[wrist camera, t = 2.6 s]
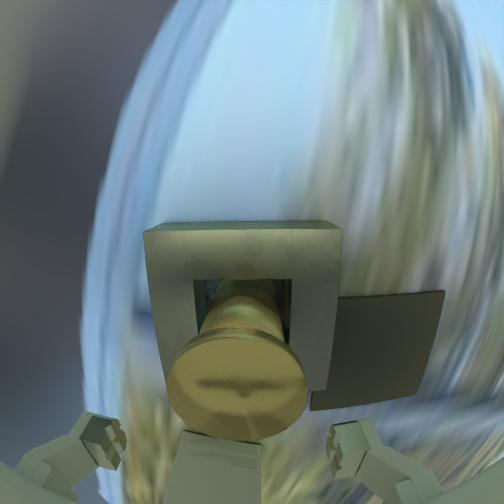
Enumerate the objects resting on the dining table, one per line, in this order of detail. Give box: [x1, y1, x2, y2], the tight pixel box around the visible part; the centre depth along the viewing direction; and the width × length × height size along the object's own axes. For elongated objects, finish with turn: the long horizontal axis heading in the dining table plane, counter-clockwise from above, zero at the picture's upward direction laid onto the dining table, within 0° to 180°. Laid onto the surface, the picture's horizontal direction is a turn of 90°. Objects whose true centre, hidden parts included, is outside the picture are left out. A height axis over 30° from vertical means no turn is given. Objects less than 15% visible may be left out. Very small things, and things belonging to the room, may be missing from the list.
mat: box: [310, 290, 445, 411], centre depth 23 cm, size 12×12×1 cm
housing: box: [143, 221, 343, 391], centre depth 20 cm, size 12×12×4 cm
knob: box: [167, 279, 308, 441], centre depth 16 cm, size 6×6×11 cm
